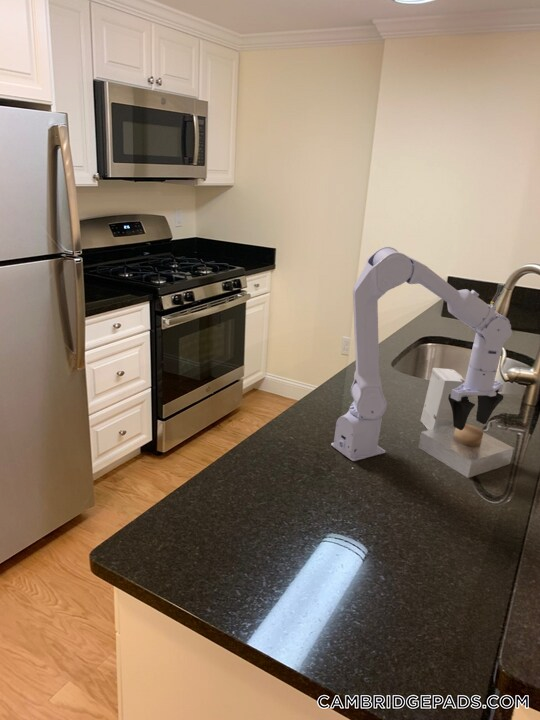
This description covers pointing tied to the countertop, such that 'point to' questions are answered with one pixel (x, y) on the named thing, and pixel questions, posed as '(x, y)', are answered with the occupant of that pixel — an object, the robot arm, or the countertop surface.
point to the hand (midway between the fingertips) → (469, 425)
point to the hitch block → (465, 451)
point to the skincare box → (440, 398)
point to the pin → (469, 435)
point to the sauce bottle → (497, 292)
